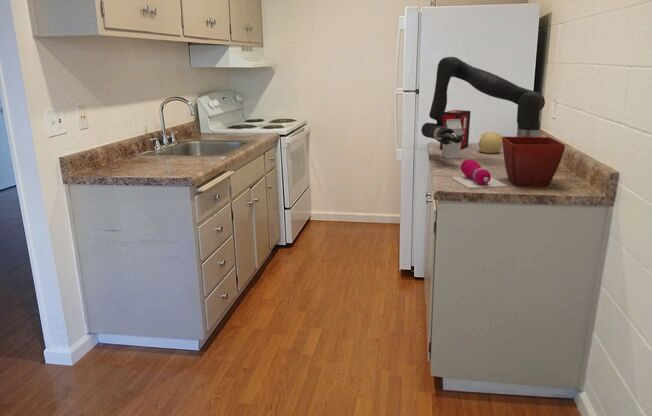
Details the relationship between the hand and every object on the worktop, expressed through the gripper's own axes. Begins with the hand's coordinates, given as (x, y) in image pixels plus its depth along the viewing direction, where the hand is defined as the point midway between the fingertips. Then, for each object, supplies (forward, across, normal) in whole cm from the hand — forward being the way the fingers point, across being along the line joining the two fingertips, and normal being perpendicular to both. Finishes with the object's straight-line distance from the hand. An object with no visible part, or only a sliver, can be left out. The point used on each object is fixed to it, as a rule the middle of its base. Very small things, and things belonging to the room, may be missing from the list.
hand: (458, 140), depth 220 cm
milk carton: (-29, +9, +13) cm, 33 cm away
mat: (+24, 0, +13) cm, 27 cm away
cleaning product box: (-54, +20, +13) cm, 59 cm away
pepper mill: (+13, 0, +9) cm, 16 cm away
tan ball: (-38, +33, +13) cm, 52 cm away
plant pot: (+27, +19, +13) cm, 36 cm away
